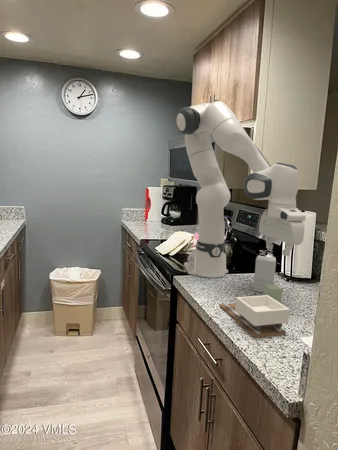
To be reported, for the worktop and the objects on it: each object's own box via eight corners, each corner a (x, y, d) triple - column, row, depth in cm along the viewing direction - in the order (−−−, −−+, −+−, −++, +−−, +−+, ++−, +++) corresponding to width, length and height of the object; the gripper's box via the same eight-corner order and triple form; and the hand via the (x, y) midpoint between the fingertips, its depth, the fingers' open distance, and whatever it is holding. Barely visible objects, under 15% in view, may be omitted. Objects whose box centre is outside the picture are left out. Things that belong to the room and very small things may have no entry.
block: (262, 301, 123) (264, 285, 122) (273, 300, 125) (275, 284, 124) (269, 306, 119) (271, 289, 118) (280, 305, 120) (282, 288, 119)
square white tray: (234, 316, 105) (236, 297, 104) (265, 313, 109) (267, 295, 108) (253, 332, 95) (255, 312, 94) (287, 329, 99) (289, 309, 98)
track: (219, 306, 116) (219, 302, 116) (245, 304, 119) (246, 300, 119) (254, 338, 96) (255, 333, 95) (285, 334, 99) (286, 330, 98)
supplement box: (273, 288, 138) (276, 257, 136) (272, 294, 131) (276, 261, 129) (254, 285, 140) (257, 254, 138) (252, 291, 133) (255, 259, 131)
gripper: (256, 208, 125) (253, 245, 128) (292, 216, 106) (287, 260, 108) (271, 208, 127) (267, 245, 129) (309, 216, 108) (304, 259, 110)
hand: (277, 252), depth 119 cm, fingers open, 8 cm apart
